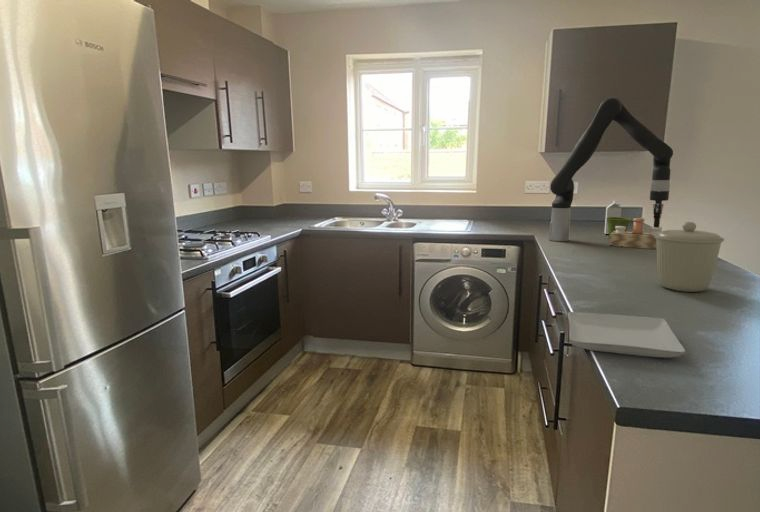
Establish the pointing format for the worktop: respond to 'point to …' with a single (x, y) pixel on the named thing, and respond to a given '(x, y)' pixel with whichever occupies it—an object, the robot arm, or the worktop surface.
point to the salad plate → (623, 334)
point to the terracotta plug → (638, 226)
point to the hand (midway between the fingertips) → (656, 227)
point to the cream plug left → (620, 229)
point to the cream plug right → (655, 230)
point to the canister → (686, 258)
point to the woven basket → (633, 240)
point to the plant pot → (617, 223)
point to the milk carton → (612, 213)
